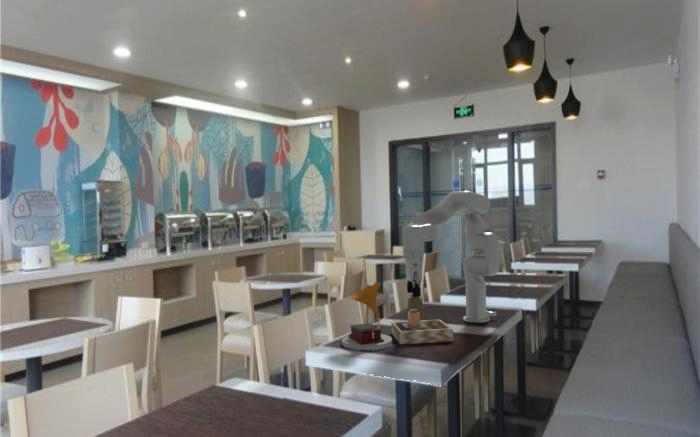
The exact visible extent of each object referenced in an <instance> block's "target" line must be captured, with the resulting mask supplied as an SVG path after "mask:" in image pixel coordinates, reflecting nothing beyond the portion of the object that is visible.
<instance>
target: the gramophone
mask: <svg viewBox="0 0 700 437" xmlns="http://www.w3.org/2000/svg"><path fill="white" fill-rule="evenodd" d="M381 283H382V281H378V282H375V283H373V285H369V284H368V285H366V286H365V287H364V288H363V289H358V290H357V292H356V293H355V294H351V295H350V298H349V299H350V300H355V301H356V302H359V303H361V304H363V305H366V306H368V307H369V308H370V309H371V311H373V313H374V314H375V315H376V318H375V321H371V323H370V322H366V323H358V324H350V325H349V327H350V332H351V333H350V334H348V335H347V336H344V337H343V338H342V339H341V345H342V346H344V347H343V348H345V347H346V348H345V349H347V348H350V349H349V350H351V349H355V350H354V351H359V350H372V351H378V350H379V351H380V350H384V349H387V348H390V347H391V346H392V345H393V337H392V336H390V335H387V334H382V331H383V329H382V328H380V327H381V325H380V321H381V318H380V311H379V309H378V306H377V302H376V301H377V297H378V292H379V291H378V290H379V288H380V285H381ZM375 324H376V325H377V326H376V325H375Z"/></svg>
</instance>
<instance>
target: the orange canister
mask: <svg viewBox="0 0 700 437" xmlns="http://www.w3.org/2000/svg"><path fill="white" fill-rule="evenodd" d="M407 321H408V326H409V327H416V326H420V313H419V312H418V310H417V309H410V311H409V312H408V317H407Z"/></svg>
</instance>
